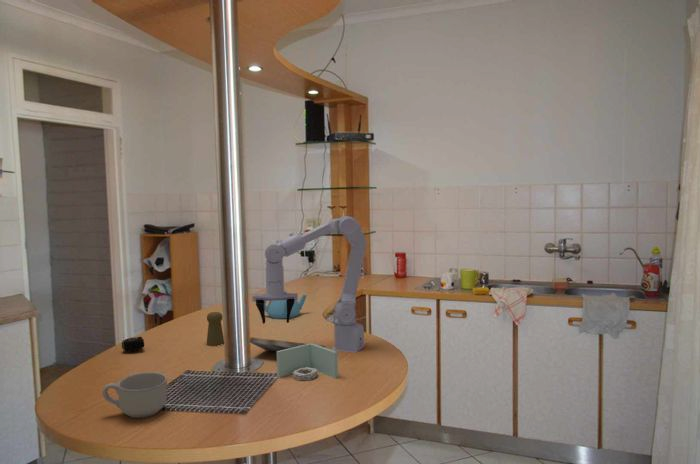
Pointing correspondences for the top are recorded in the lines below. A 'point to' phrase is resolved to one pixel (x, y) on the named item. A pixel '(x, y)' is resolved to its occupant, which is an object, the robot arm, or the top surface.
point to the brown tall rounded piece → (214, 329)
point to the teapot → (284, 308)
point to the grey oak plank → (273, 344)
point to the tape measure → (132, 343)
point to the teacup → (139, 394)
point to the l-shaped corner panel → (307, 362)
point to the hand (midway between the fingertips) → (275, 322)
